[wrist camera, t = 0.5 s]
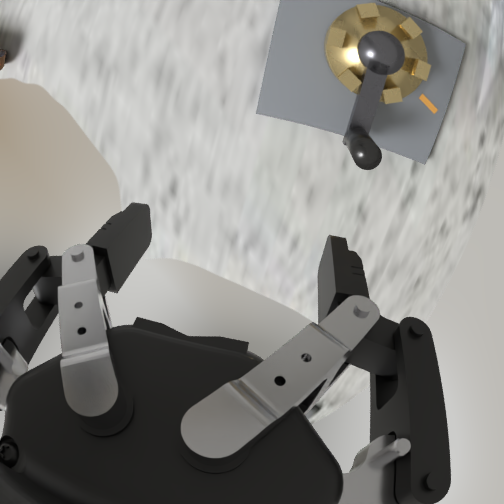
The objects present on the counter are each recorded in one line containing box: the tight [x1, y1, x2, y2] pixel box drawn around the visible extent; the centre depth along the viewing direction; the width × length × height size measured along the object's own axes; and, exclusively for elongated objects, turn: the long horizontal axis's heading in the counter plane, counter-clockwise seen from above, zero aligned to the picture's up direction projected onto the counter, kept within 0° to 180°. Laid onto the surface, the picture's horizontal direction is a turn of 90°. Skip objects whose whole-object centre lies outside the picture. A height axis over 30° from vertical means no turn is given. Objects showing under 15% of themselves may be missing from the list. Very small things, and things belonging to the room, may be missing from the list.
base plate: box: [256, 0, 466, 164], centre depth 25 cm, size 16×20×2 cm
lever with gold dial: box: [324, 3, 431, 170], centre depth 21 cm, size 15×10×8 cm, turn 169°
